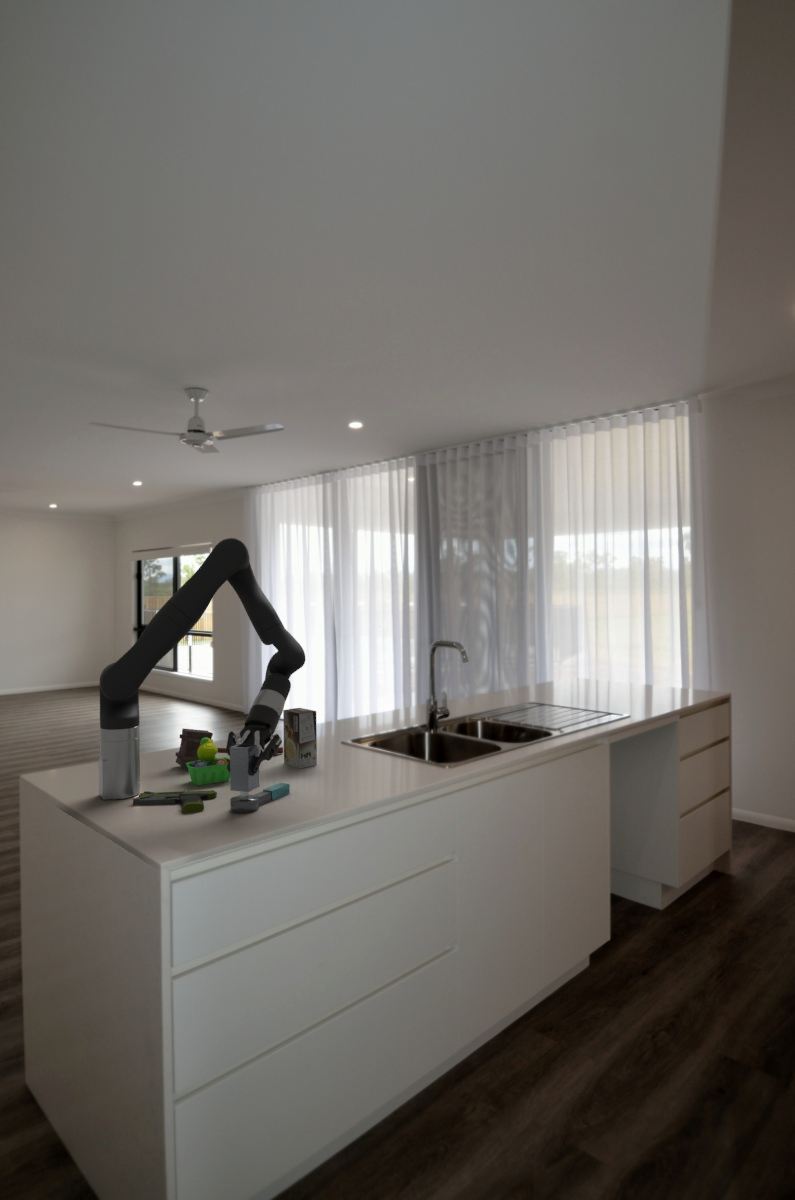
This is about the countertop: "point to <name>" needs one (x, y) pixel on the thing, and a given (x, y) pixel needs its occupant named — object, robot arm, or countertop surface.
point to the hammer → (197, 746)
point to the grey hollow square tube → (242, 768)
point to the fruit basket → (208, 765)
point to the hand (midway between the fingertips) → (240, 772)
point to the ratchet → (257, 798)
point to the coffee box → (300, 737)
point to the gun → (176, 799)
